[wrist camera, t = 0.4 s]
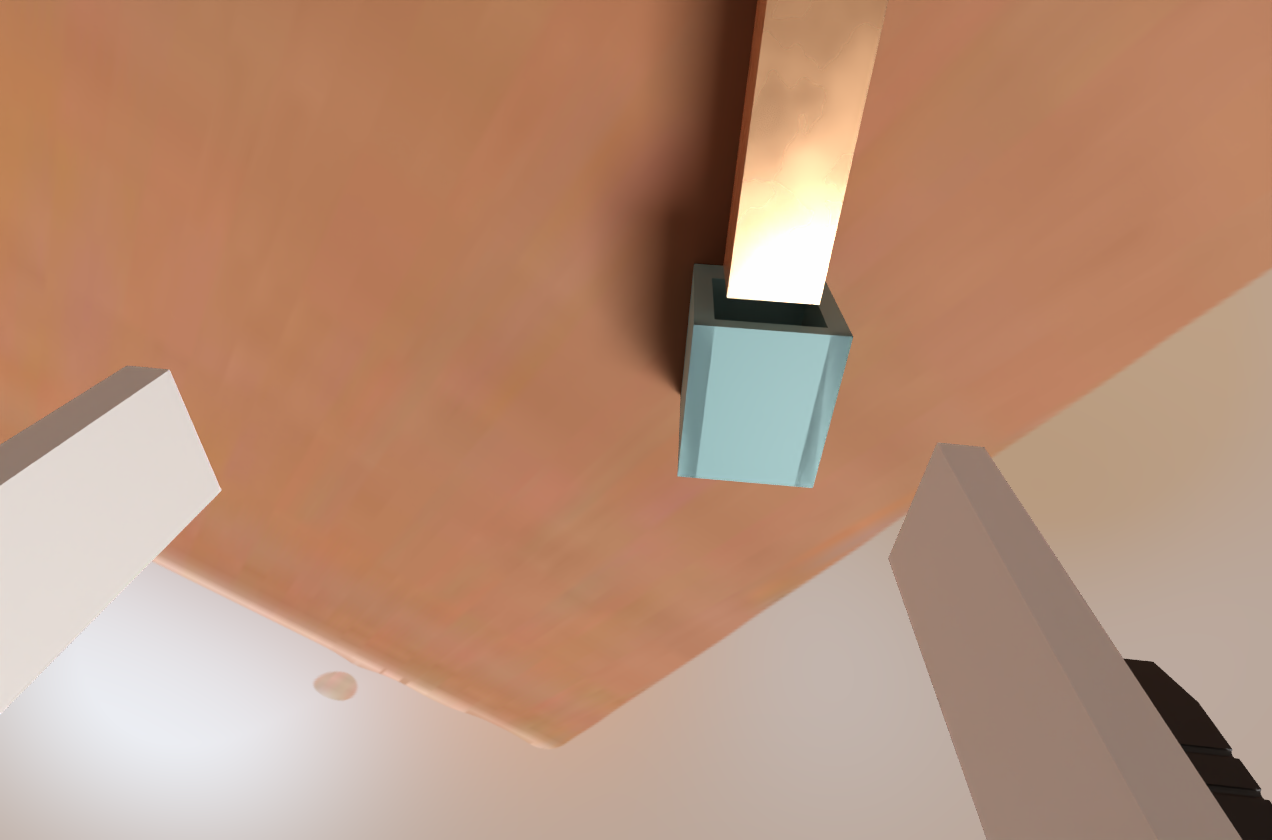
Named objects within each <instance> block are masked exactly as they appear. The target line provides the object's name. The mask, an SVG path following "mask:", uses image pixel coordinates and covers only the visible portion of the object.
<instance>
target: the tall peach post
mask: <svg viewBox="0 0 1272 840" xmlns="http://www.w3.org/2000/svg"><path fill="white" fill-rule="evenodd" d="M887 4H888V0H758V1H757V8H756V16H755V24H754V32H753V40H752V47H751V55H750V63H749V71H748V79H747V86H746V94H745V102H744V110H743V118H742V125H741V133H740V141H739V149H738V156H737V164H736V172H735V180H734V188H733V195H732V203H731V211H730V219H729V227H728V234H727V242H726V250H725V258H724V266H723V268H724V277H725V286H726V294H727V298H738V299H752V300H765V301H779V302H792V303H806V304H820V300H821V296H822V291H823V287H824V282H825V278H826V273H827V269H828V265H829V260H830V256H831V251H832V247H833V242H834V238H835V234H836V229H837V225H838V220H839V216H840V212H841V207H842V203H843V198H844V194H845V189H846V185H847V181H848V176H849V172H850V167H851V163H852V158H853V154H854V150H855V145H856V141H857V136H858V132H859V128H860V123H861V119H862V114H863V110H864V105H865V101H866V97H867V92H868V88H869V83H870V79H871V74H872V70H873V66H874V61H875V57H876V52H877V48H878V44H879V39H880V35H881V30H882V26H883V21H884V17H885V13H886V8H887Z"/></svg>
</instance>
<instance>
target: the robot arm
mask: <svg viewBox="0 0 1272 840" xmlns="http://www.w3.org/2000/svg"><path fill="white" fill-rule="evenodd" d="M220 491H221V488H220V486H219V484H218V481H217V479H216V477H215V474H214V472H213V470H212V467H211V465H210V463H209V460H208V458H207V456H206V453H205V451H204V449H203V447H202V444H201V442H200V440H199V437H198V435H197V433H196V430H195V428H194V426H193V423H192V421H191V419H190V416H189V414H188V412H187V409H186V407H185V405H184V402H183V400H182V398H181V395H180V393H179V391H178V388H177V386H176V384H175V381H174V379H173V377H172V374H171V372H170V370H168V369H157V368H147V367H136V366H125V367H124V368H122V369H121V370H119V371H117V372H116V373H114V374H113V375H111V376H109V377H108V378H106V379H105V380H103V381H101V382H100V383H98V384H97V385H95V386H93V387H92V388H90V389H89V390H87V391H85V392H84V393H82V394H81V395H79V396H77V397H76V398H74V399H73V400H71V401H69V402H68V403H66V404H65V405H63V406H61V407H60V408H58V409H57V410H55V411H53V412H52V413H50V414H49V415H47V416H45V417H44V418H42V419H41V420H39V421H37V422H36V423H34V424H33V425H31V426H29V427H28V428H26V429H25V430H23V431H21V432H20V433H18V434H17V435H15V436H13V437H12V438H10V439H9V440H7V441H5V442H4V443H2V444H1V445H0V714H1V713H2V712H3V711H4V710H5V709H6V708H7V707H8V706H9V705H10V704H11V703H12V702H13V701H14V700H15V699H16V698H17V697H18V696H19V695H20V694H21V693H22V692H23V691H24V690H25V689H26V688H27V687H28V686H29V685H30V684H31V683H32V682H33V681H34V680H35V679H36V678H37V677H38V676H39V675H40V674H41V673H42V672H43V671H44V670H45V669H46V668H47V667H48V666H49V665H50V664H51V663H52V662H53V661H54V660H55V659H56V658H57V657H58V656H59V655H60V654H61V653H62V651H64V650H65V649H66V647H68V646H69V644H71V643H72V641H73V640H74V639H75V638H76V637H77V636H78V635H79V634H80V633H81V632H82V631H83V630H84V629H85V628H86V627H87V626H88V625H89V624H90V623H91V622H92V621H93V620H94V619H95V618H96V617H97V616H98V615H99V614H100V613H101V612H102V611H103V610H104V609H105V608H106V607H107V606H108V605H109V604H110V603H111V602H112V601H113V600H114V599H115V598H116V597H117V596H118V595H119V594H120V593H121V592H122V591H123V590H124V589H125V588H126V587H127V586H128V585H129V584H130V583H131V582H132V581H133V580H134V579H135V578H136V577H137V576H138V575H139V574H140V573H141V572H142V570H144V569H145V567H146V566H147V565H148V564H149V563H150V562H151V561H152V560H153V559H154V558H155V557H156V556H157V555H158V554H159V553H160V552H161V551H162V550H163V549H164V548H165V547H166V546H167V545H168V544H169V543H170V542H171V541H172V540H173V539H174V538H175V537H176V536H177V535H178V534H179V533H180V532H181V531H182V530H183V529H184V528H185V527H186V526H187V525H188V524H189V523H190V522H191V521H192V520H193V519H194V518H195V517H196V516H197V515H198V514H199V513H200V512H201V511H202V510H203V509H204V508H205V507H206V506H207V505H208V504H209V503H210V502H211V501H212V500H213V499H214V498H215V497H216V496H217V495H218V493H219V492H220ZM889 562H890V565H891V567H892V570H893V573H894V576H895V579H896V582H897V585H898V587H899V590H900V593H901V596H902V599H903V602H904V605H905V607H906V610H907V613H908V616H909V619H910V622H911V624H912V628H913V630H914V633H915V636H916V639H917V642H918V645H919V648H920V650H921V653H922V656H923V659H924V661H925V664H926V668H927V670H928V673H929V676H930V678H931V682H932V685H933V688H934V690H935V693H936V696H937V699H938V701H939V704H940V707H941V710H942V713H943V716H944V719H945V722H946V725H947V727H948V730H949V733H950V736H951V739H952V742H953V745H954V747H955V750H956V753H957V756H958V759H959V762H960V764H961V767H962V770H963V773H964V776H965V779H966V781H967V785H968V787H969V790H970V793H971V796H972V799H973V802H974V805H975V807H976V810H977V813H978V816H979V819H980V822H981V825H982V827H983V830H984V833H985V836H986V839H987V840H1272V804H1271V802H1270V801H1269V800H1264V799H1263V798H1262V796H1261V793H1260V791H1261V788H1260V787H1259V786H1258V784H1257V783H1256V781H1255V780H1254V779H1253V777H1252V776H1251V775H1250V773H1249V772H1248V770H1247V769H1246V768H1245V766H1244V765H1243V764H1242V762H1241V761H1240V760H1239V759H1236V758H1234V757H1233V756H1232V754H1231V751H1232V748H1231V747H1230V746H1229V744H1228V743H1227V741H1226V740H1225V739H1224V738H1223V736H1222V734H1221V733H1220V732H1219V730H1218V729H1217V728H1216V726H1215V725H1214V723H1213V722H1212V721H1211V719H1210V718H1209V717H1208V715H1207V714H1206V712H1205V711H1204V710H1203V708H1202V707H1201V706H1200V704H1199V703H1198V702H1197V701H1196V700H1195V699H1194V698H1193V697H1192V696H1190V695H1189V694H1188V693H1187V692H1186V691H1185V690H1184V689H1183V688H1182V687H1181V686H1179V685H1178V684H1177V683H1176V682H1175V681H1174V680H1173V679H1172V678H1171V677H1169V676H1168V675H1167V674H1166V673H1165V672H1164V671H1163V670H1162V669H1161V668H1160V667H1158V666H1157V665H1156V664H1155V663H1154V662H1150V661H1139V660H1130V659H1123V658H1122V656H1121V654H1120V653H1119V651H1118V650H1117V649H1116V647H1115V645H1114V644H1113V642H1112V641H1111V640H1110V638H1109V637H1108V635H1107V633H1106V632H1105V630H1104V629H1103V628H1102V626H1101V624H1100V623H1099V621H1098V620H1097V618H1096V617H1095V615H1094V613H1093V612H1092V610H1091V609H1090V607H1089V606H1088V605H1087V603H1086V601H1085V600H1084V599H1083V597H1082V595H1081V594H1080V592H1079V591H1078V589H1077V588H1076V586H1075V585H1074V583H1073V582H1072V580H1071V579H1070V577H1069V576H1068V574H1067V573H1066V571H1065V569H1064V568H1063V566H1062V565H1061V563H1060V562H1059V561H1058V559H1057V557H1056V556H1055V554H1054V553H1053V551H1052V550H1051V548H1050V547H1049V545H1048V544H1047V542H1046V541H1045V539H1044V537H1043V536H1042V534H1041V533H1040V531H1039V530H1038V528H1037V527H1036V526H1035V524H1034V522H1033V521H1032V519H1031V518H1030V516H1029V515H1028V513H1027V512H1026V510H1025V509H1024V507H1023V506H1022V504H1021V503H1020V501H1019V500H1018V498H1017V497H1016V495H1015V493H1014V492H1013V490H1012V489H1011V487H1010V486H1009V484H1008V483H1007V481H1006V480H1005V478H1004V477H1003V475H1002V474H1001V472H1000V471H999V469H998V468H997V466H996V465H995V463H994V461H993V460H992V458H991V457H990V455H989V454H988V452H987V451H986V449H985V448H984V447H978V446H968V445H957V444H947V443H937V444H936V446H935V449H934V451H933V454H932V456H931V458H930V461H929V463H928V465H927V468H926V470H925V473H924V475H923V477H922V480H921V482H920V484H919V487H918V489H917V491H916V494H915V496H914V499H913V501H912V503H911V506H910V508H909V510H908V513H907V515H906V518H905V520H904V523H903V525H902V527H901V529H900V532H899V534H898V537H897V539H896V541H895V544H894V546H893V549H892V551H891V553H890V556H889Z"/></svg>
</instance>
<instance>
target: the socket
mask: <svg viewBox="0 0 1272 840" xmlns="http://www.w3.org/2000/svg"><path fill="white" fill-rule="evenodd" d="M852 339H853V336H852V334H851V332H850V330H849V328H848V326H847V324H846V322H845V320H844V318H843V316H842V314H841V312H840V310H839V308H838V306H837V304H836V302H835V299H834V297H833V295H832V293H831V291H830V289H829V287H828V285H827V283H826V281H825V282H824V287H823V291H822V296H821V300H820V304H806V303H792V302H779V301H765V300H752V299H738V298H727V294H726V286H725V277H724V268H723V266H720V265H706V264H694V269H693V279H692V289H691V299H690V309H689V319H688V329H687V339H686V349H685V359H684V369H683V379H682V389H681V402H680V428H679V453H678V476H681V477H692V478H704V479H715V480H727V481H738V482H750V483H762V484H773V485H785V486H796V487H808V488H813V485H814V481H815V478H816V474H817V470H818V466H819V463H820V459H821V455H822V451H823V448H824V444H825V440H826V436H827V433H828V429H829V425H830V421H831V418H832V414H833V410H834V406H835V403H836V399H837V395H838V391H839V388H840V384H841V380H842V376H843V373H844V369H845V365H846V361H847V358H848V354H849V350H850V347H851V343H852Z"/></svg>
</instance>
